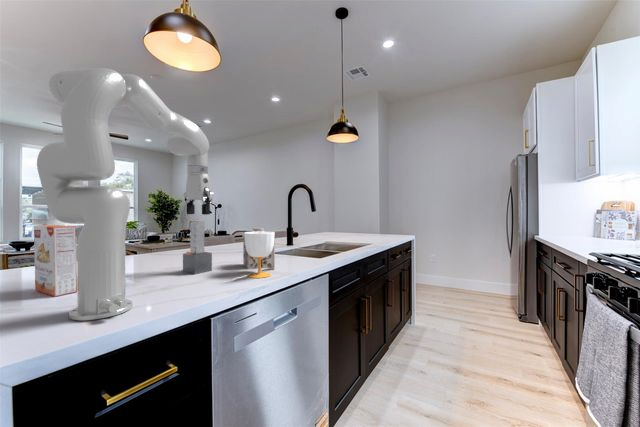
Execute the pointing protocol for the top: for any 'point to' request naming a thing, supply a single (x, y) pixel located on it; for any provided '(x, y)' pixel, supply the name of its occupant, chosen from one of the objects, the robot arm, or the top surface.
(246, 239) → the cup
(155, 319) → the top surface
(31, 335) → the top surface
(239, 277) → the top surface
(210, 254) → the stand base
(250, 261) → the decorative jar
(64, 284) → the cracker box
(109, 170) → the robot arm
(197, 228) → the column
